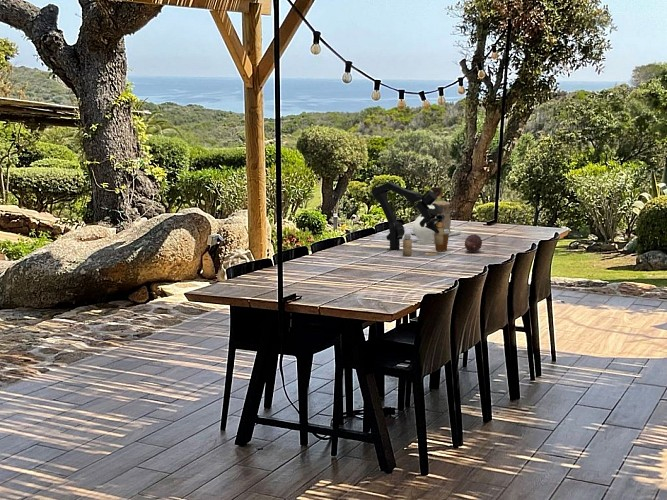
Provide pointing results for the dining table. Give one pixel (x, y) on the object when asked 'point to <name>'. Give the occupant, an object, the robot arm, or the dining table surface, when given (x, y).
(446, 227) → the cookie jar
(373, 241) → the dining table surface
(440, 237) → the orange ball tube
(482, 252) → the dining table surface
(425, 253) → the card
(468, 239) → the pine cone
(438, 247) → the disposable coffee cup
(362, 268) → the dining table surface
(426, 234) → the decorative vase
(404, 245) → the grey ball tube
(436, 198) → the robot arm
